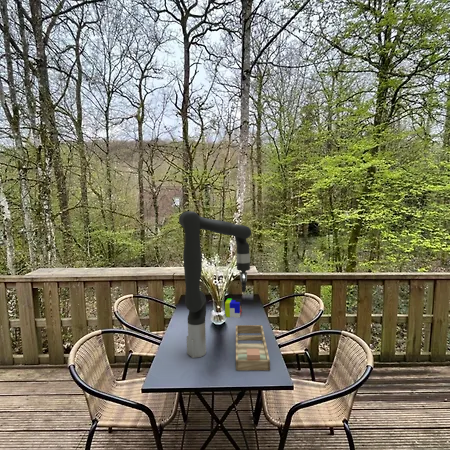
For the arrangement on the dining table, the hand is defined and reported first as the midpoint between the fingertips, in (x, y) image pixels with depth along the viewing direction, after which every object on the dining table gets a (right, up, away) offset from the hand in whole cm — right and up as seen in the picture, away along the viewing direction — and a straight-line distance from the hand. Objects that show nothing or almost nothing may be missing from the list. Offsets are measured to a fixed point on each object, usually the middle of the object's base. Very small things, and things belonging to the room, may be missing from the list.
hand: (243, 291), depth 166 cm
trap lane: (+3, -30, -7) cm, 31 cm away
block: (+3, -29, -23) cm, 37 cm away
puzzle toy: (-5, -26, +42) cm, 49 cm away
